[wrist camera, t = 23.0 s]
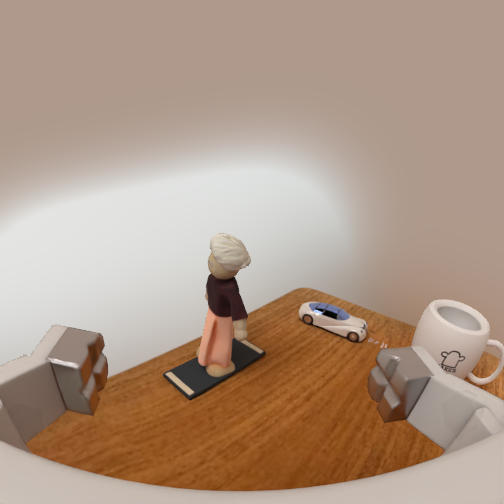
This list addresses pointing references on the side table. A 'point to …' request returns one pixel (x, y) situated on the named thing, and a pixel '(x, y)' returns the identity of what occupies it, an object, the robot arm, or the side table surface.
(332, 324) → the toy car
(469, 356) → the mug
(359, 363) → the side table surface
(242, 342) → the black flat block
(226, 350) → the grandmother figurine
